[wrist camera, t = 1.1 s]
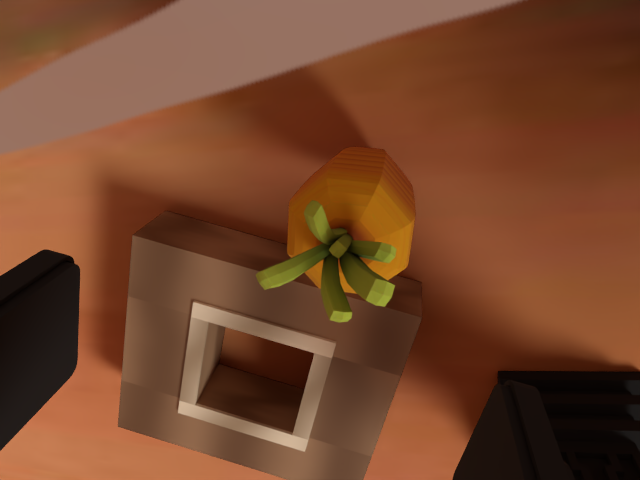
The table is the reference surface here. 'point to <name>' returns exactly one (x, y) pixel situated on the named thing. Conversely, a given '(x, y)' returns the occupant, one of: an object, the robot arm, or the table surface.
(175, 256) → the seat block
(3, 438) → the robot arm
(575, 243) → the table surface
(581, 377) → the chess piece
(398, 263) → the carrot
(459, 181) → the table surface
